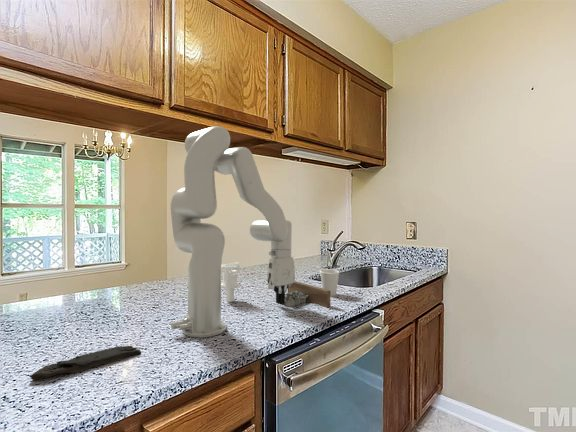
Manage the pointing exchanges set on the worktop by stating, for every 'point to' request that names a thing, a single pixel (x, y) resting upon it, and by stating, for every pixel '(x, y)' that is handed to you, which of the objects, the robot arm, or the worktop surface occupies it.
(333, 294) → the dixie cup
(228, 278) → the white plastic bottle
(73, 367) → the wood
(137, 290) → the worktop surface
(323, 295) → the walnut board
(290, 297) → the egg carton
